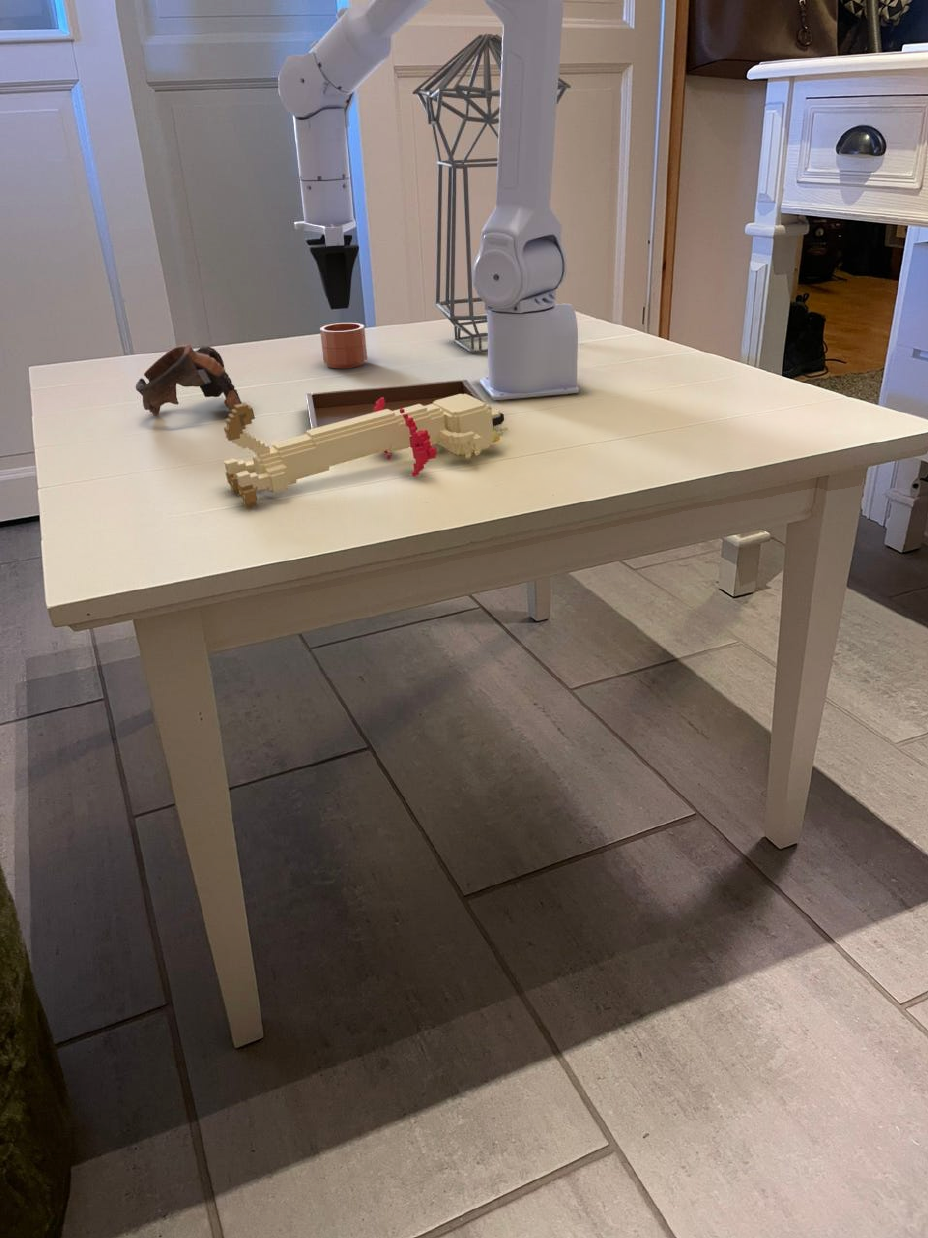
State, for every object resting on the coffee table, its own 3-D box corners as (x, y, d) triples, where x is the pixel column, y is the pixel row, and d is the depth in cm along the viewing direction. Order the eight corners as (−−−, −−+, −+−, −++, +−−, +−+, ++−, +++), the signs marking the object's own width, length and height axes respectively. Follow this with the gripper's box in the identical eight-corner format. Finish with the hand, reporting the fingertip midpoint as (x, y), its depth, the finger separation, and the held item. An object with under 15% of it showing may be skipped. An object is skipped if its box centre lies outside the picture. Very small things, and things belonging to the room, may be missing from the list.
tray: (467, 397, 102) (466, 379, 101) (493, 433, 90) (493, 412, 89) (308, 412, 99) (305, 393, 98) (314, 450, 88) (311, 429, 87)
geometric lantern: (423, 338, 129) (406, 40, 112) (531, 327, 132) (531, 36, 116) (451, 363, 116) (436, 29, 99) (571, 351, 119) (576, 26, 102)
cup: (365, 357, 120) (361, 321, 118) (369, 367, 116) (366, 329, 113) (322, 360, 120) (318, 324, 117) (325, 370, 115) (321, 333, 113)
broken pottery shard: (238, 431, 96) (184, 366, 91) (170, 467, 99) (114, 407, 94) (263, 372, 104) (215, 310, 100) (199, 407, 108) (150, 349, 103)
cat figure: (259, 533, 74) (531, 450, 82) (233, 426, 69) (523, 351, 78) (226, 494, 82) (477, 423, 90) (201, 396, 77) (467, 331, 86)
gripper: (287, 177, 113) (301, 294, 119) (291, 184, 100) (306, 316, 107) (346, 174, 114) (356, 291, 120) (357, 181, 101) (368, 311, 108)
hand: (337, 302), depth 113 cm, fingers open, 7 cm apart
